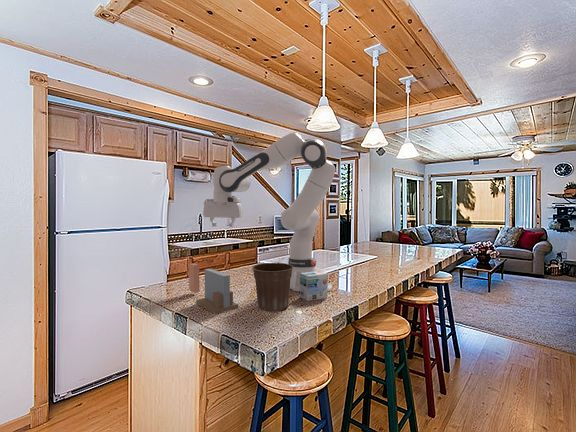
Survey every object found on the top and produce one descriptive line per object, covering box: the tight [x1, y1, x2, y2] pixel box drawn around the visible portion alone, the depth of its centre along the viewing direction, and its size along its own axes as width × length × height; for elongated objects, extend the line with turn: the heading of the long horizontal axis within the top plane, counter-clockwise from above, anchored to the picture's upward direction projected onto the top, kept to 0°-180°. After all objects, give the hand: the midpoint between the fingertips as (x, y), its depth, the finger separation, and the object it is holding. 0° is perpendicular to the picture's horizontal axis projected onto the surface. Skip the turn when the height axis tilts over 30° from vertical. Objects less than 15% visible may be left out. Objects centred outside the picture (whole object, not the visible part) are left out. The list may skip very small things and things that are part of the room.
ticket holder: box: [195, 268, 239, 315], centre depth 130 cm, size 16×10×14 cm, turn 41°
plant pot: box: [251, 262, 293, 312], centre depth 129 cm, size 16×16×16 cm
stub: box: [188, 262, 200, 294], centre depth 146 cm, size 5×2×12 cm, turn 41°
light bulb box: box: [299, 270, 329, 302], centre depth 142 cm, size 11×7×11 cm, turn 117°
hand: (222, 226), depth 162 cm, fingers open, 8 cm apart
